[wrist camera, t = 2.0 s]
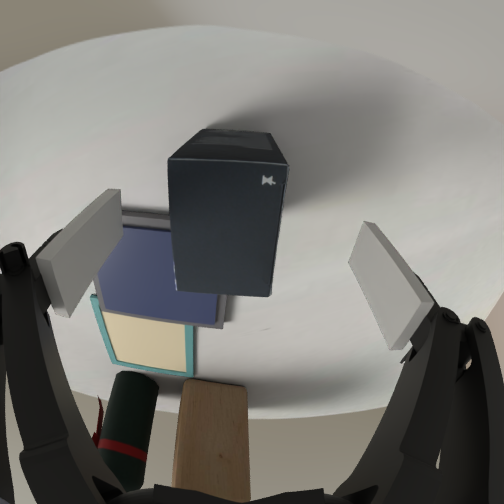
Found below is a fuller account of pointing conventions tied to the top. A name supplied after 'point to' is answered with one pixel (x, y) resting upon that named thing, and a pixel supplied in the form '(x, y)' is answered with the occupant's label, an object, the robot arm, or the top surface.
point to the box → (226, 212)
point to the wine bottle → (127, 427)
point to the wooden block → (213, 441)
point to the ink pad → (151, 278)
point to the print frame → (146, 342)
